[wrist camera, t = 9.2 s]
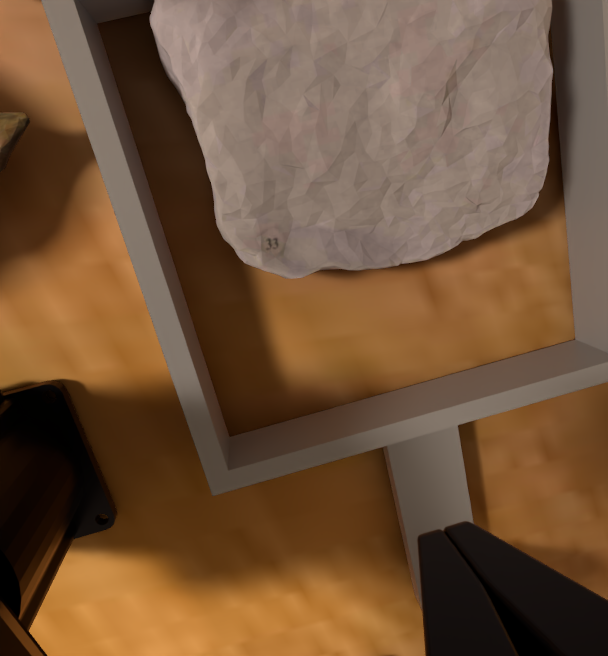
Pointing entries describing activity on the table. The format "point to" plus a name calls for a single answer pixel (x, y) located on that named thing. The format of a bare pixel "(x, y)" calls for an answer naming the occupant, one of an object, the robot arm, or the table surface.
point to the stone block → (362, 122)
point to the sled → (396, 406)
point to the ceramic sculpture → (10, 133)
